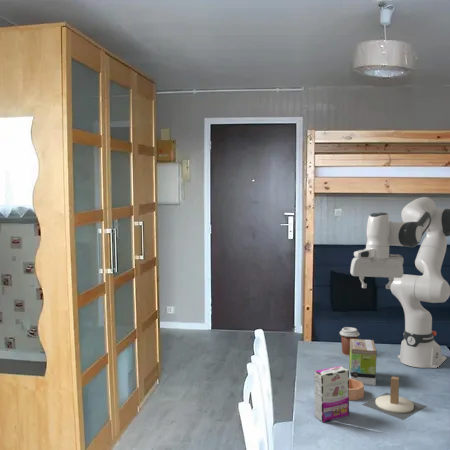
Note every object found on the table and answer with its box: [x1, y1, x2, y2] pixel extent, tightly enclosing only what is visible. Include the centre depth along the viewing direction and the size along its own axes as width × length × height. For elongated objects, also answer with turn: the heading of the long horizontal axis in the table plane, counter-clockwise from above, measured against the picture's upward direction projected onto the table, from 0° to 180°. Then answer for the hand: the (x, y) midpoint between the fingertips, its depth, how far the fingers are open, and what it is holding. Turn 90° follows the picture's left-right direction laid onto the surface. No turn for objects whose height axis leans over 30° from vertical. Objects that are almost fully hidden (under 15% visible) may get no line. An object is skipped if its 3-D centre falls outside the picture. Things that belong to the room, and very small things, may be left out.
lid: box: [375, 376, 414, 413], centre depth 182 cm, size 13×13×10 cm
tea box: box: [348, 338, 378, 386], centre depth 209 cm, size 15×10×15 cm
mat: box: [362, 392, 428, 421], centre depth 183 cm, size 16×16×1 cm
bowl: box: [349, 377, 365, 401], centre depth 193 cm, size 11×11×4 cm
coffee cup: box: [339, 326, 361, 357], centre depth 240 cm, size 9×9×12 cm
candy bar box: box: [314, 365, 350, 423], centre depth 175 cm, size 11×5×16 cm, turn 114°
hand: (376, 288), depth 202 cm, fingers open, 8 cm apart
